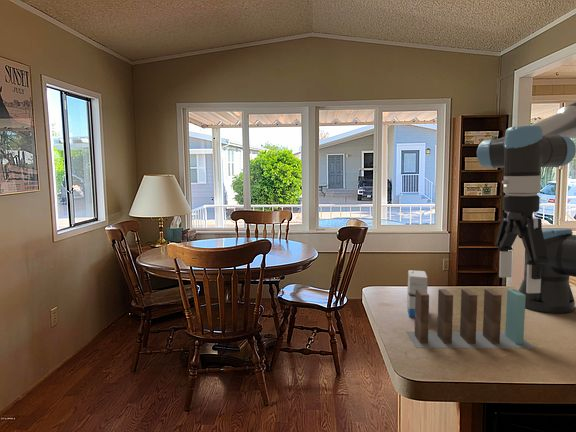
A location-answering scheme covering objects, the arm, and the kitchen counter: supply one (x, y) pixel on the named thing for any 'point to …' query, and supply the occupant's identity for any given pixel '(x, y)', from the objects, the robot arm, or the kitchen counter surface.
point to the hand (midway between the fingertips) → (518, 284)
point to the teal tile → (515, 316)
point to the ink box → (415, 282)
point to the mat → (461, 343)
